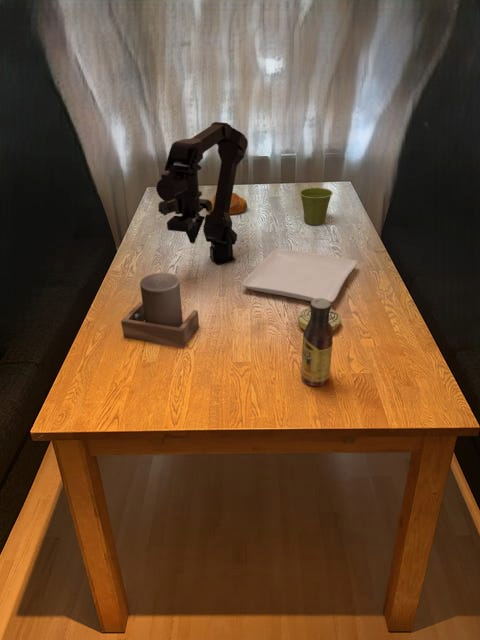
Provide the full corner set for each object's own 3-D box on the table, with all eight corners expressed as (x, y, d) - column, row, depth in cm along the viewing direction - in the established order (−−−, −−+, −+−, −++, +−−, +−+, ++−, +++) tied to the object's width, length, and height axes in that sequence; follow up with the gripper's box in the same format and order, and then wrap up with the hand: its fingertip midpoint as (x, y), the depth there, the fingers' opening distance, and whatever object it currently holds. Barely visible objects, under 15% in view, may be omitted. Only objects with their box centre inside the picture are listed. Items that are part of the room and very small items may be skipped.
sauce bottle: (298, 371, 119) (301, 294, 108) (325, 369, 119) (331, 292, 109) (303, 390, 113) (307, 310, 103) (332, 387, 114) (339, 308, 103)
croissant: (245, 221, 203) (248, 201, 199) (205, 217, 202) (207, 197, 198) (246, 207, 215) (248, 188, 211) (208, 203, 215) (209, 184, 210)
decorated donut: (348, 325, 135) (349, 312, 133) (323, 343, 129) (324, 330, 127) (314, 311, 141) (315, 299, 139) (289, 327, 135) (290, 315, 133)
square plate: (358, 270, 161) (359, 259, 159) (332, 313, 141) (333, 300, 139) (275, 256, 172) (275, 245, 169) (239, 294, 151) (239, 282, 149)
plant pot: (336, 219, 196) (338, 190, 190) (322, 230, 188) (324, 199, 182) (307, 214, 202) (308, 185, 196) (292, 224, 193) (293, 194, 187)
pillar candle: (138, 334, 134) (131, 282, 126) (158, 315, 141) (152, 264, 133) (172, 342, 131) (166, 289, 123) (190, 322, 138) (186, 271, 130)
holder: (142, 318, 140) (139, 301, 138) (199, 327, 136) (197, 310, 133) (123, 337, 133) (121, 321, 130) (183, 348, 128) (182, 331, 125)
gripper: (175, 177, 153) (180, 228, 162) (145, 198, 138) (152, 253, 147) (211, 180, 150) (214, 231, 158) (185, 202, 135) (189, 257, 144)
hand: (192, 242), depth 152 cm, fingers closed
